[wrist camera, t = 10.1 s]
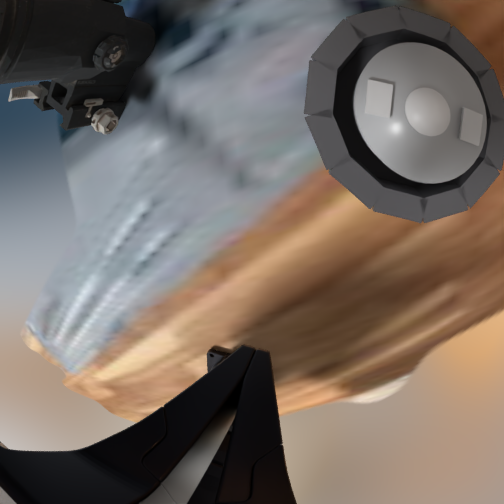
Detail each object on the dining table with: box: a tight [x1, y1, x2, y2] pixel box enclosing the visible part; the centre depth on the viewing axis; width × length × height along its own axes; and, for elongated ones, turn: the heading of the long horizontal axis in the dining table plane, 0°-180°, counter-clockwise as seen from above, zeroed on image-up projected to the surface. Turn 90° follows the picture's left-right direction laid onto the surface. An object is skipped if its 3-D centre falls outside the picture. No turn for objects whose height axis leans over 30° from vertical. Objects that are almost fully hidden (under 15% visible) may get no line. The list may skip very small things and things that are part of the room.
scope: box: [0, 0, 156, 134], centre depth 10 cm, size 8×14×10 cm
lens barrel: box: [304, 6, 504, 223], centre depth 12 cm, size 10×10×5 cm
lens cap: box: [352, 42, 487, 184], centre depth 10 cm, size 6×6×3 cm
